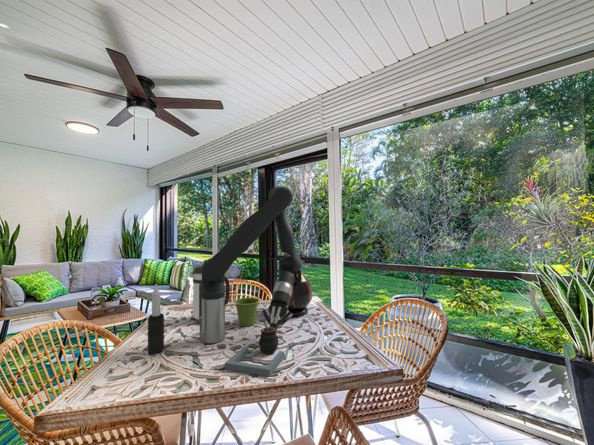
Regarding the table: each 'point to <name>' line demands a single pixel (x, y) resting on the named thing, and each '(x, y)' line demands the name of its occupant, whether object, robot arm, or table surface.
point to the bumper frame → (251, 368)
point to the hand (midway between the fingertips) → (271, 334)
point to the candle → (155, 326)
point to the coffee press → (198, 292)
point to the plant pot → (246, 310)
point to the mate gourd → (268, 340)
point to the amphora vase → (299, 293)
